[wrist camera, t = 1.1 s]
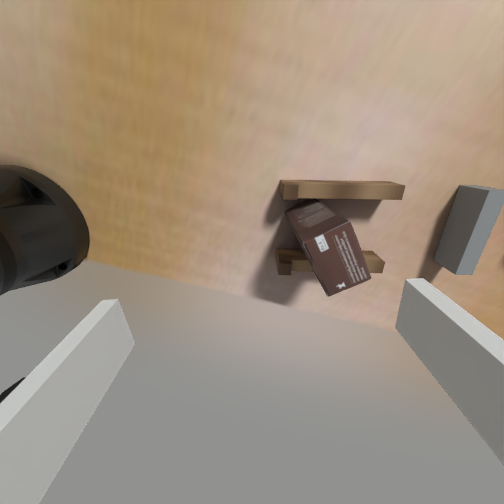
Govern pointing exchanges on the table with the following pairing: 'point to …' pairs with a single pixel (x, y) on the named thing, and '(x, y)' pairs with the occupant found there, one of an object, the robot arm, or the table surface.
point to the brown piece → (333, 190)
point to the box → (328, 245)
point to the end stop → (468, 228)
